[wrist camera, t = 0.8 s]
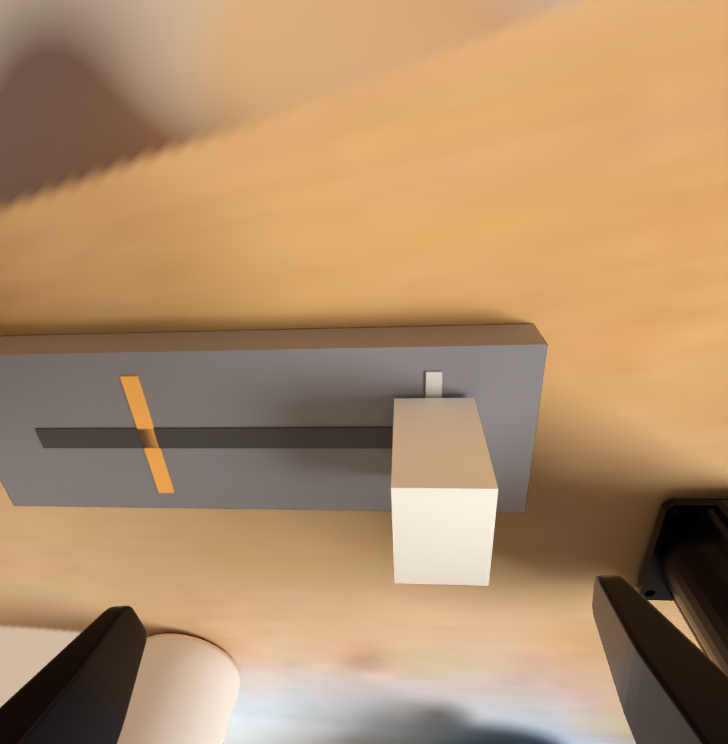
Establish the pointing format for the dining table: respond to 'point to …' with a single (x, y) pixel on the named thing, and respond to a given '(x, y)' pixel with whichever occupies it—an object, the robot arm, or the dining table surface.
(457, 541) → the fader cap
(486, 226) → the dining table surface
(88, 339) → the console
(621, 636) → the robot arm
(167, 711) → the milk bottle
